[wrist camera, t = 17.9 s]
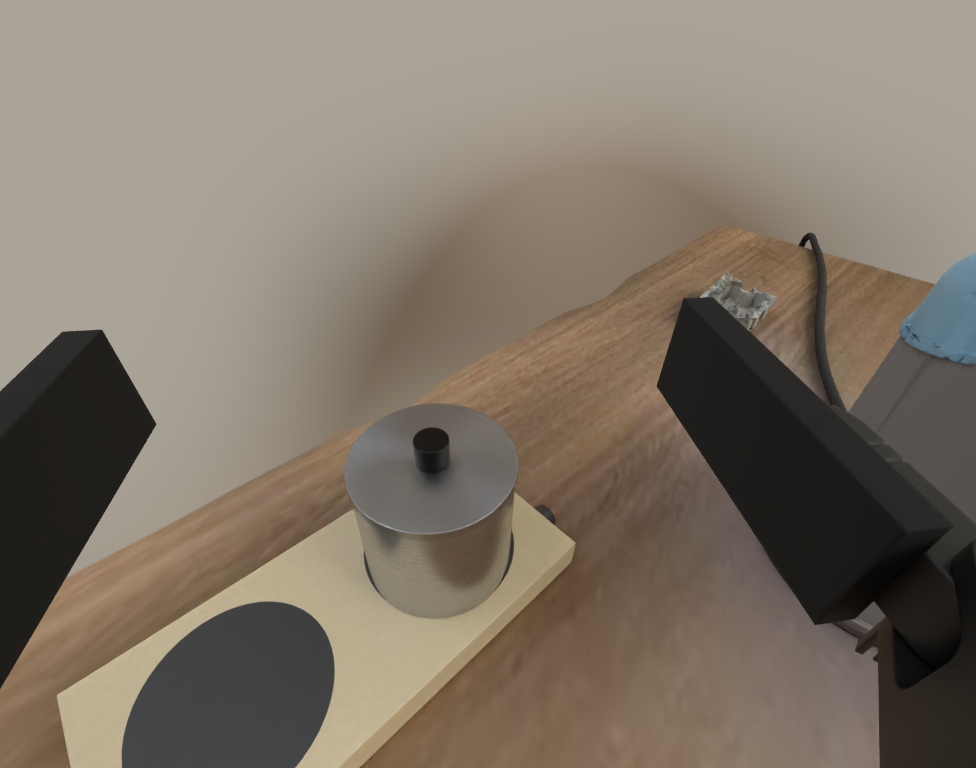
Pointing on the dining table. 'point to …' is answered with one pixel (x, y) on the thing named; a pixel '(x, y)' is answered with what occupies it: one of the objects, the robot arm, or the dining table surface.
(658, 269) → the dining table surface
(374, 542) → the pot
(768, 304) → the egg carton
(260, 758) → the hot plate
